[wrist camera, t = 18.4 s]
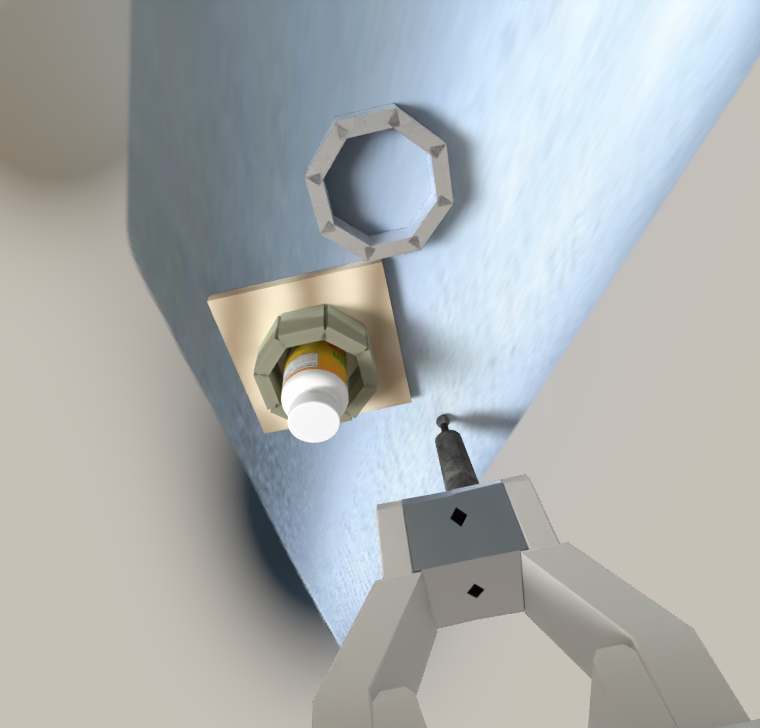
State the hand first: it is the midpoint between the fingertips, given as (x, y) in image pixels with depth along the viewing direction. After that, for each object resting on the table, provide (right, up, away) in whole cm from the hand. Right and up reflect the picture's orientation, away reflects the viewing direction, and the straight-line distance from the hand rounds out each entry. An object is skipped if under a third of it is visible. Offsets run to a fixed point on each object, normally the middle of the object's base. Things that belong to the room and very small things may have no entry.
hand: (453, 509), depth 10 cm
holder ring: (-2, +17, +30) cm, 34 cm away
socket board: (-7, +4, +37) cm, 38 cm away
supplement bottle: (-7, +4, +36) cm, 37 cm away
